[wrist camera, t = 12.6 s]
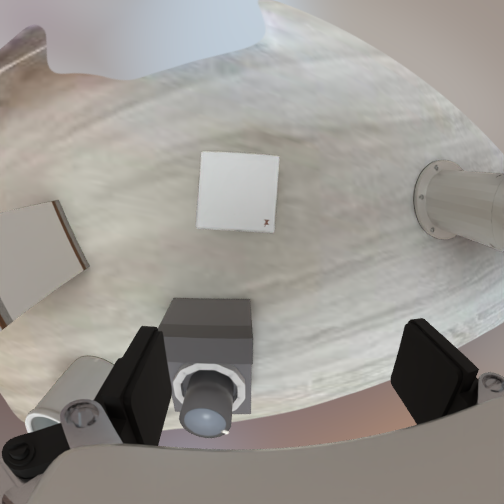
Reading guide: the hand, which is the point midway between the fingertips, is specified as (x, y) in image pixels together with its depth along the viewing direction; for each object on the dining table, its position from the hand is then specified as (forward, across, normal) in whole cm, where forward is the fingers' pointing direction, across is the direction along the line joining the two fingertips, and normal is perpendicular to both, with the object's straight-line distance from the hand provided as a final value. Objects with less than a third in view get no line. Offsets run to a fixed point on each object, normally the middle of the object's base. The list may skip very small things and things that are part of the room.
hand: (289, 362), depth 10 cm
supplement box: (+31, +2, -5) cm, 31 cm away
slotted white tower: (+31, +32, +3) cm, 44 cm away
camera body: (+30, +6, +18) cm, 36 cm away
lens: (+22, +6, +20) cm, 30 cm away
